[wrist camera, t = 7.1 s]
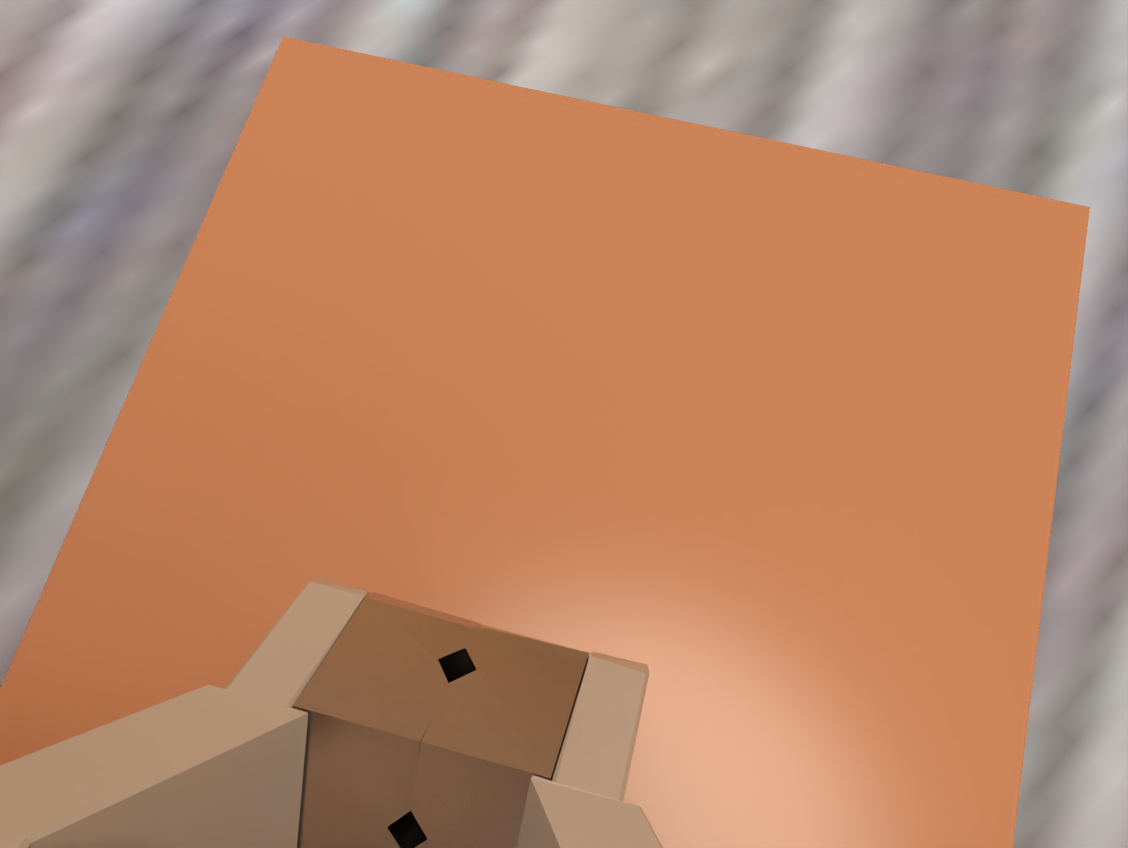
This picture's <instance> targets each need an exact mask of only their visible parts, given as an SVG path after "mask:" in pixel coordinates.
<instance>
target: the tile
mask: <svg viewBox="0 0 1128 848" xmlns="http://www.w3.org/2000/svg"><path fill="white" fill-rule="evenodd" d="M1089 209H1090V207H1086V206H1081V205H1077V204H1072V203H1067V202H1062V201H1058V200H1053V199H1048V198H1044V197H1039V196H1034V195H1029V194H1025V193H1020V192H1015V191H1010V190H1006V189H1001V188H996V187H992V186H987V185H982V184H977V183H973V182H968V181H963V180H958V179H954V178H949V177H944V176H940V175H935V174H930V173H925V172H921V171H916V170H911V169H906V168H902V167H897V166H892V165H887V164H883V163H878V162H873V161H869V160H864V159H859V158H854V157H850V156H845V155H840V154H835V153H831V152H826V151H821V150H817V149H812V148H807V147H802V146H798V145H793V144H788V143H783V142H779V141H774V140H769V139H765V138H760V137H755V136H750V135H746V134H741V133H736V132H731V131H727V130H722V129H717V128H713V127H708V126H703V125H698V124H694V123H689V122H684V121H679V120H675V119H670V118H665V117H661V116H656V115H651V114H646V113H642V112H637V111H632V110H627V109H623V108H618V107H613V106H609V105H604V104H599V103H594V102H590V101H585V100H580V99H575V98H571V97H566V96H561V95H556V94H552V93H547V92H542V91H538V90H533V89H528V88H523V87H519V86H514V85H509V84H504V83H500V82H495V81H490V80H486V79H481V78H476V77H471V76H467V75H462V74H457V73H452V72H448V71H443V70H438V69H434V68H429V67H424V66H419V65H415V64H410V63H405V62H400V61H396V60H391V59H386V58H382V57H377V56H372V55H367V54H363V53H358V52H353V51H348V50H344V49H339V48H334V47H330V46H325V45H320V44H315V43H311V42H306V41H301V40H296V39H292V38H287V37H283V39H282V41H281V43H280V46H279V48H278V50H277V52H276V55H275V57H274V59H273V62H272V64H271V66H270V69H269V71H268V73H267V75H266V78H265V80H264V82H263V85H262V87H261V89H260V92H259V94H258V96H257V98H256V101H255V103H254V105H253V108H252V110H251V112H250V115H249V117H248V119H247V121H246V124H245V126H244V128H243V131H242V133H241V135H240V138H239V140H238V142H237V144H236V147H235V149H234V151H233V154H232V156H231V158H230V161H229V163H228V165H227V167H226V170H225V172H224V174H223V177H222V179H221V181H220V184H219V186H218V188H217V191H216V193H215V195H214V197H213V200H212V202H211V204H210V207H209V209H208V211H207V214H206V216H205V218H204V220H203V223H202V225H201V227H200V230H199V232H198V234H197V237H196V239H195V241H194V243H193V246H192V248H191V250H190V253H189V255H188V257H187V260H186V262H185V264H184V266H183V269H182V271H181V273H180V276H179V278H178V280H177V283H176V285H175V287H174V289H173V292H172V294H171V296H170V299H169V301H168V303H167V306H166V308H165V310H164V312H163V315H162V317H161V319H160V322H159V324H158V326H157V329H156V331H155V333H154V335H153V338H152V340H151V342H150V345H149V347H148V349H147V352H146V354H145V356H144V359H143V361H142V363H141V365H140V368H139V370H138V372H137V375H136V377H135V379H134V382H133V384H132V386H131V388H130V391H129V393H128V395H127V398H126V400H125V402H124V405H123V407H122V409H121V411H120V414H119V416H118V418H117V421H116V423H115V425H114V428H113V430H112V432H111V434H110V437H109V439H108V441H107V444H106V446H105V448H104V451H103V453H102V455H101V457H100V460H99V462H98V464H97V467H96V469H95V471H94V474H93V476H92V478H91V480H90V483H89V485H88V487H87V490H86V492H85V494H84V497H83V499H82V501H81V503H80V506H79V508H78V510H77V513H76V515H75V517H74V520H73V522H72V524H71V527H70V529H69V531H68V533H67V536H66V538H65V540H64V543H63V545H62V547H61V550H60V552H59V554H58V556H57V559H56V561H55V563H54V566H53V568H52V570H51V573H50V575H49V577H48V579H47V582H46V584H45V586H44V589H43V591H42V593H41V596H40V598H39V600H38V602H37V605H36V607H35V609H34V612H33V614H32V616H31V619H30V621H29V623H28V625H27V628H26V630H25V632H24V635H23V637H22V639H21V642H20V644H19V646H18V648H17V651H16V653H15V655H14V658H13V660H12V662H11V665H10V667H9V669H8V671H7V674H6V676H5V678H4V681H3V683H2V685H1V688H0V765H3V764H5V763H8V762H10V761H13V760H15V759H18V758H21V757H23V756H26V755H28V754H31V753H33V752H36V751H39V750H41V749H44V748H46V747H49V746H51V745H54V744H57V743H59V742H62V741H64V740H67V739H69V738H72V737H75V736H77V735H80V734H82V733H85V732H87V731H90V730H93V729H95V728H98V727H100V726H103V725H105V724H108V723H111V722H113V721H116V720H118V719H121V718H123V717H126V716H128V715H131V714H134V713H136V712H139V711H141V710H144V709H146V708H149V707H152V706H154V705H157V704H159V703H162V702H164V701H167V700H170V699H172V698H175V697H177V696H180V695H182V694H185V693H188V692H190V691H193V690H195V689H198V688H200V687H203V686H206V685H212V686H216V687H219V688H223V689H225V688H226V687H227V685H228V684H229V683H230V681H231V680H232V679H233V678H234V676H235V675H236V674H237V672H238V671H239V670H240V669H241V667H242V666H243V665H244V663H245V662H246V661H247V660H248V658H249V657H250V656H251V654H252V653H253V652H254V651H255V649H256V648H257V647H258V645H259V644H260V643H261V641H262V640H263V639H264V638H265V636H266V635H267V634H268V632H269V631H270V630H271V629H272V627H273V626H274V625H275V623H276V622H277V621H278V620H279V618H280V617H281V616H282V614H283V613H284V612H285V611H286V609H287V608H288V607H289V605H290V604H291V603H292V601H293V600H294V599H295V598H296V596H297V595H298V594H299V592H300V591H301V590H302V589H303V587H304V586H305V585H306V584H307V583H309V582H310V581H312V580H315V579H317V578H319V577H320V578H323V579H327V580H331V581H334V582H338V583H341V584H345V585H349V586H352V587H356V588H359V589H363V590H367V591H368V592H370V593H373V592H375V593H378V594H382V595H385V596H389V597H392V598H396V599H399V600H402V601H406V602H409V603H413V604H416V605H420V606H423V607H426V608H430V609H433V610H437V611H440V612H444V613H447V614H450V615H454V616H457V617H461V618H464V619H467V620H471V621H474V622H478V623H480V625H481V624H482V625H486V626H489V627H493V628H497V629H501V630H504V631H508V632H512V633H516V634H520V635H523V636H527V637H531V638H535V639H539V640H542V641H546V642H550V643H554V644H558V645H561V646H565V647H569V648H573V649H577V650H580V651H584V652H588V653H590V655H591V653H592V652H597V653H601V654H605V655H609V656H613V657H618V658H622V659H626V660H630V661H634V662H639V663H643V664H647V666H648V669H649V677H648V682H647V687H646V692H645V697H644V702H643V707H642V712H641V716H640V721H639V726H638V731H637V736H636V741H635V746H634V751H633V755H632V760H631V765H630V770H629V775H628V780H627V785H626V790H625V794H624V799H623V802H627V803H630V804H633V805H637V806H639V807H641V808H642V810H643V812H644V814H645V816H646V817H647V819H648V821H649V823H650V825H651V827H652V829H653V830H654V832H655V834H656V836H657V838H658V840H659V841H660V843H661V845H662V847H663V848H1013V840H1014V832H1015V824H1016V816H1017V807H1018V799H1019V791H1020V782H1021V774H1022V766H1023V757H1024V749H1025V741H1026V733H1027V724H1028V716H1029V708H1030V699H1031V691H1032V683H1033V674H1034V666H1035V658H1036V649H1037V641H1038V633H1039V625H1040V616H1041V608H1042V600H1043V591H1044V583H1045V575H1046V566H1047V558H1048V550H1049V542H1050V533H1051V525H1052V517H1053V508H1054V500H1055V492H1056V483H1057V475H1058V467H1059V459H1060V450H1061V442H1062V434H1063V425H1064V417H1065V409H1066V400H1067V392H1068V384H1069V376H1070V367H1071V359H1072V351H1073V342H1074V334H1075V326H1076V317H1077V309H1078V301H1079V292H1080V284H1081V276H1082V268H1083V259H1084V251H1085V243H1086V234H1087V226H1088V218H1089ZM590 655H589V657H590Z"/></svg>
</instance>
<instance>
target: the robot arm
mask: <svg viewBox="0 0 1128 848" xmlns="http://www.w3.org/2000/svg"><path fill="white" fill-rule="evenodd" d="M589 655H590V653H588V652H584V651H580V650H577V649H573V648H569V647H565V646H561V645H558V644H554V643H550V642H546V641H542V640H539V639H535V638H531V637H527V636H523V635H520V634H516V633H512V632H508V631H504V630H501V629H497V628H493V627H489V626H486V625H482V624H481V625H480V623H478V622H474V621H471V620H467V619H464V618H461V617H457V616H454V615H450V614H447V613H444V612H440V611H437V610H433V609H430V608H426V607H423V606H420V605H416V604H413V603H409V602H406V601H402V600H399V599H396V598H392V597H389V596H385V595H382V594H378V593H375V592H373V593H370V592H368V591H367V590H363V589H359V588H356V587H352V586H349V585H345V584H341V583H338V582H334V581H331V580H327V579H323V578H320V577H319V578H317V579H315V580H312V581H310V582H309V583H307V584H306V585H305V586H304V587H303V589H302V590H301V591H300V592H299V594H298V595H297V596H296V598H295V599H294V600H293V601H292V603H291V604H290V605H289V607H288V608H287V609H286V611H285V612H284V613H283V614H282V616H281V617H280V618H279V620H278V621H277V622H276V623H275V625H274V626H273V627H272V629H271V630H270V631H269V632H268V634H267V635H266V636H265V638H264V639H263V640H262V641H261V643H260V644H259V645H258V647H257V648H256V649H255V651H254V652H253V653H252V654H251V656H250V657H249V658H248V660H247V661H246V662H245V663H244V665H243V666H242V667H241V669H240V670H239V671H238V672H237V674H236V675H235V676H234V678H233V679H232V680H231V681H230V683H229V684H228V685H227V687H226V688H225V689H223V688H219V687H216V686H212V685H206V686H203V687H200V688H198V689H195V690H193V691H190V692H188V693H185V694H182V695H180V696H177V697H175V698H172V699H170V700H167V701H164V702H162V703H159V704H157V705H154V706H152V707H149V708H146V709H144V710H141V711H139V712H136V713H134V714H131V715H128V716H126V717H123V718H121V719H118V720H116V721H113V722H111V723H108V724H105V725H103V726H100V727H98V728H95V729H93V730H90V731H87V732H85V733H82V734H80V735H77V736H75V737H72V738H69V739H67V740H64V741H62V742H59V743H57V744H54V745H51V746H49V747H46V748H44V749H41V750H39V751H36V752H33V753H31V754H28V755H26V756H23V757H21V758H18V759H15V760H13V761H10V762H8V763H5V764H3V765H0V848H663V847H662V845H661V843H660V841H659V840H658V838H657V836H656V834H655V832H654V830H653V829H652V827H651V825H650V823H649V821H648V819H647V817H646V816H645V814H644V812H643V810H642V808H641V807H639V806H637V805H633V804H630V803H627V802H623V799H624V794H625V790H626V785H627V780H628V775H629V770H630V765H631V760H632V755H633V751H634V746H635V741H636V736H637V731H638V726H639V721H640V716H641V712H642V707H643V702H644V697H645V692H646V687H647V682H648V677H649V669H648V666H647V664H643V663H639V662H634V661H630V660H626V659H622V658H618V657H613V656H609V655H605V654H601V653H597V652H592V653H591V655H590V657H589Z"/></svg>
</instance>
